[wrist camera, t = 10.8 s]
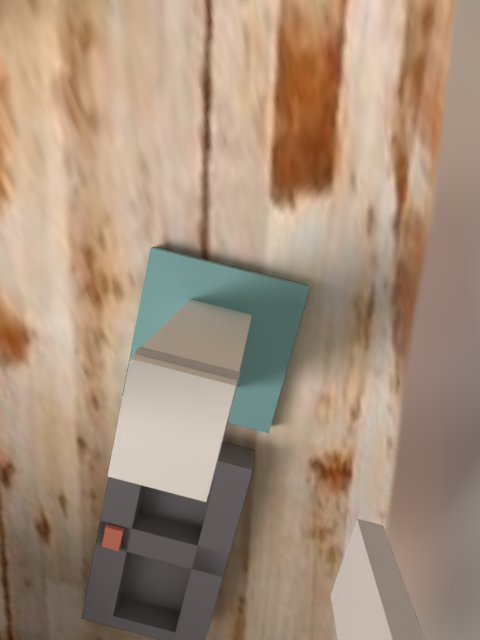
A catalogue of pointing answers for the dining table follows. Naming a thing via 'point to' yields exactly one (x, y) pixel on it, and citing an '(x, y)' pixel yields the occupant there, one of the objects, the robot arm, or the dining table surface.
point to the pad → (239, 295)
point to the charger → (180, 401)
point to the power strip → (166, 553)
